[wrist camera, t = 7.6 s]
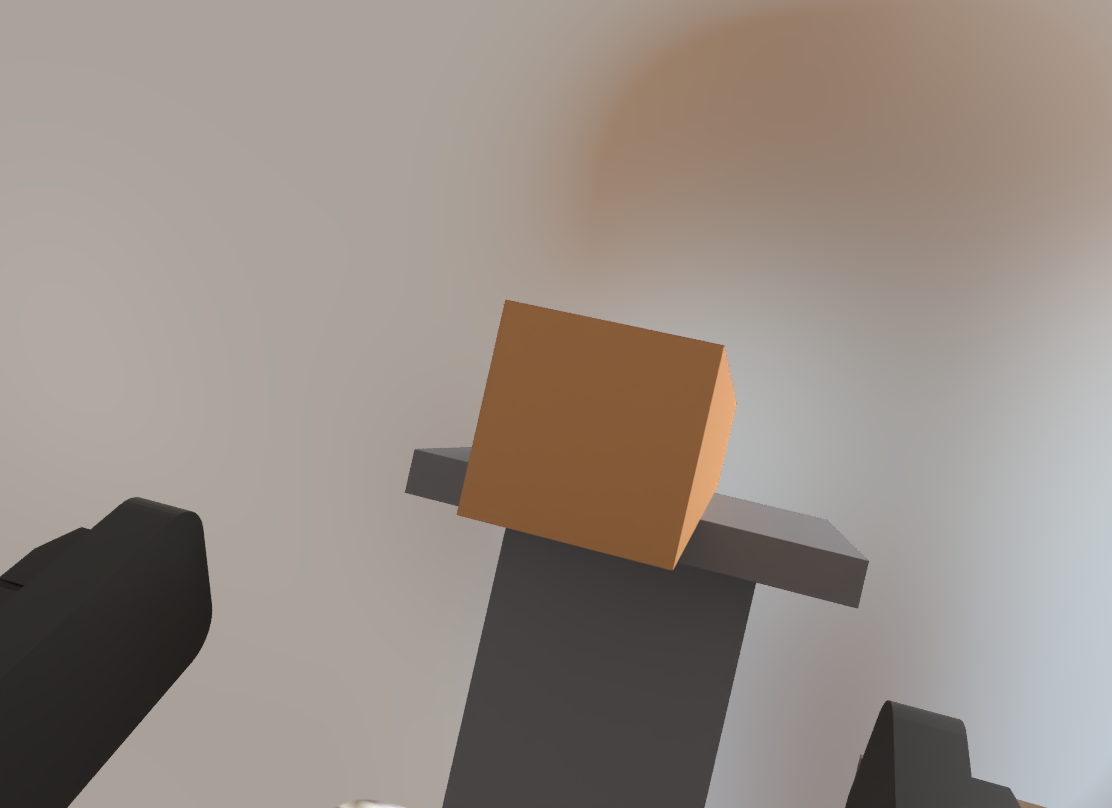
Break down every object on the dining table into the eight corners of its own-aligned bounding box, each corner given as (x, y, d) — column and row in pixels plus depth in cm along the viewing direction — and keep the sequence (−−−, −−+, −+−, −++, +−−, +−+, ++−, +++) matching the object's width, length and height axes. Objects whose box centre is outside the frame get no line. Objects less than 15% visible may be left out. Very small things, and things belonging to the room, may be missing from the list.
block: (717, 486, 34) (736, 403, 34) (672, 570, 13) (724, 345, 13) (635, 466, 35) (653, 385, 35) (456, 515, 13) (505, 299, 13)
